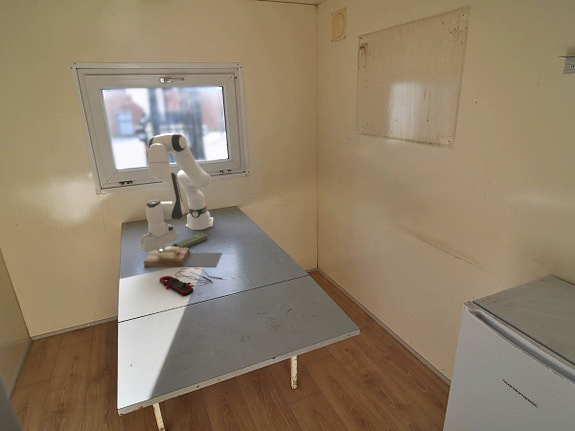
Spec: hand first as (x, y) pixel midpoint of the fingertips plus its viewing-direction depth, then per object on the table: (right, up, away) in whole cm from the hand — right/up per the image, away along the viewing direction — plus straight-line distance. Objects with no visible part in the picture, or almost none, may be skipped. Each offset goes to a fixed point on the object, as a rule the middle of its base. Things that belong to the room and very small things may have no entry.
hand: (161, 252), depth 190 cm
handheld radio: (+7, +5, +21) cm, 22 cm away
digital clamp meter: (+22, -13, -19) cm, 32 cm away
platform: (+3, -4, +1) cm, 5 cm away
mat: (+23, -4, +1) cm, 23 cm away
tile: (+5, -1, 0) cm, 5 cm away
